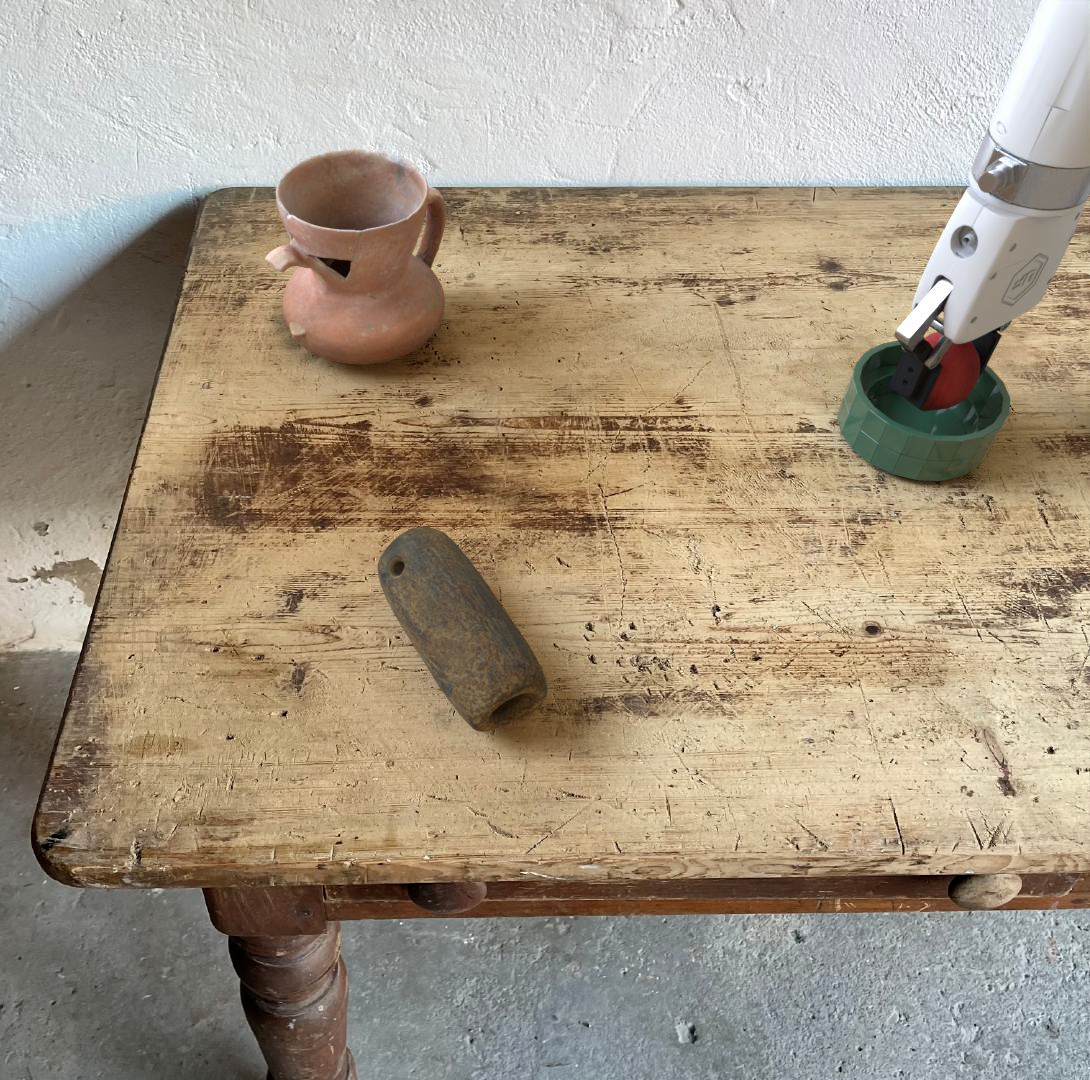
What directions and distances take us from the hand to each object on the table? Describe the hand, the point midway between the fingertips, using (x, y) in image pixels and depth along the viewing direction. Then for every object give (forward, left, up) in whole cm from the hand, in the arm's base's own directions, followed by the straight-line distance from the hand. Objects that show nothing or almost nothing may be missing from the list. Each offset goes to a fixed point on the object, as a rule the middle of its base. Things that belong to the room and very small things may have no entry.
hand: (935, 379), depth 80 cm
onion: (0, 0, -3) cm, 3 cm away
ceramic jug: (+31, -37, -6) cm, 49 cm away
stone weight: (+44, -2, -6) cm, 45 cm away
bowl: (0, 0, -6) cm, 6 cm away
